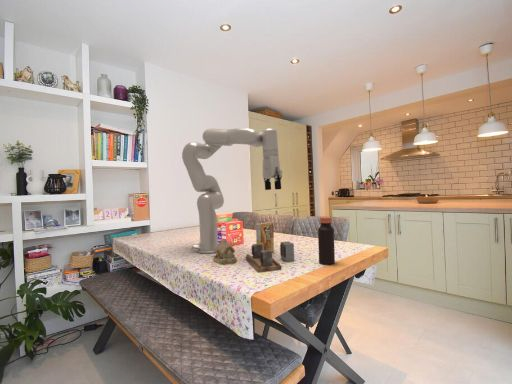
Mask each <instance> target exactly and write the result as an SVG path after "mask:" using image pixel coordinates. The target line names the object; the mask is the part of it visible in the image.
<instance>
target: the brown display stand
mask: <svg viewBox="0 0 512 384" xmlns="http://www.w3.org/2000/svg"><path fill="white" fill-rule="evenodd" d="M245 261H246V262H247V263H248V264H249V265H250V266H251V267H252V268H253V269H254V270H255V271H256V272H257V273H264V272H272V271H281V270H282V265H281V263H279V262H278V261H277V260H276V259H275V258H273V252H272V251H271V250H263V245H262V244H256V243H253V244H252V245H251V255H250V254H249V253H247V254H246V256H245Z"/></svg>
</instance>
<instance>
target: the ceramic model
mask: <svg viewBox="0 0 512 384" xmlns="http://www.w3.org/2000/svg"><path fill="white" fill-rule="evenodd" d="M215 251H216V252H215V255H214V256H213V258H212V259H213V260H212V261H213V262H214V263H216V264H219V265H225V264H226V265H231V264H234V263H237V262H238V260H237V257H236V256H235V248H234V247H233V246H232V245H231V244H230V243H229V241H227V239H222V240H220V242H218V245H217V247H216V249H215Z"/></svg>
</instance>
